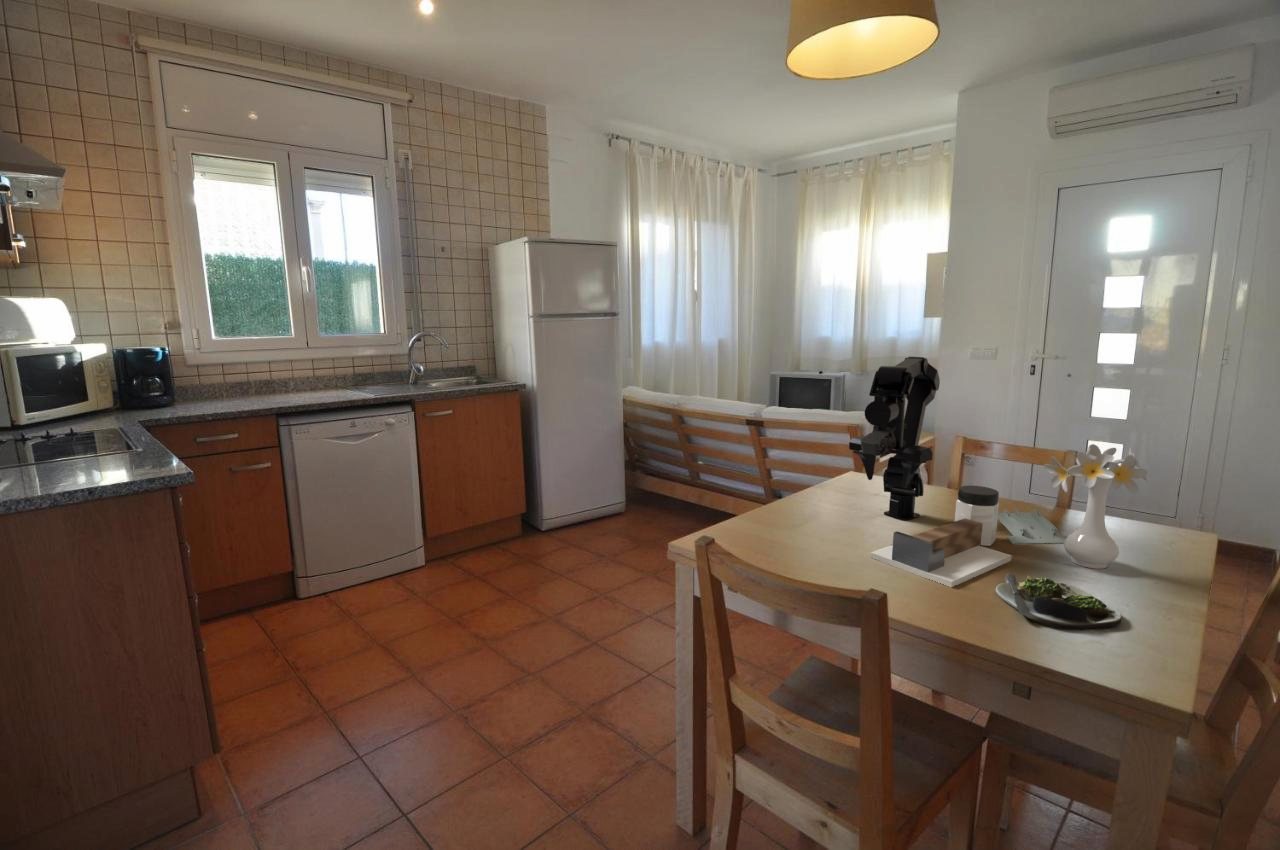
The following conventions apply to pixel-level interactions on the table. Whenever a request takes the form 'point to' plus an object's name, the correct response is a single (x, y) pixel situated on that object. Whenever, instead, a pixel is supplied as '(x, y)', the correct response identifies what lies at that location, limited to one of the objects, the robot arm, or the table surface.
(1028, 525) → the pale green slanted stand
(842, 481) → the table surface
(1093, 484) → the flower vase
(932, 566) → the bracket
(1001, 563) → the mounting board
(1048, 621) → the salad plate
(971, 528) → the walnut rail
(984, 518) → the jar
